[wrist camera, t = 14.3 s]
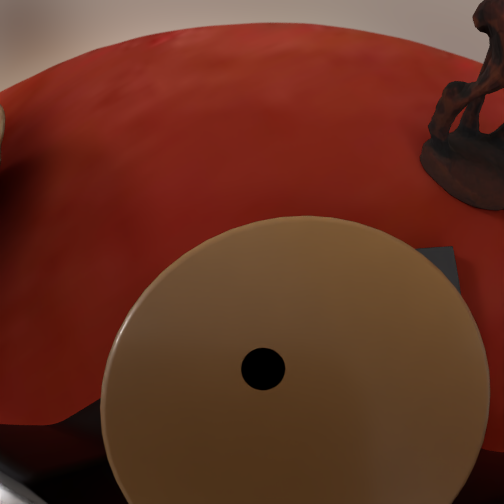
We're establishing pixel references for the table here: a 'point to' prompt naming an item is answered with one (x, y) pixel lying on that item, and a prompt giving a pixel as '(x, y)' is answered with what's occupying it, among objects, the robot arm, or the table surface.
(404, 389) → the tan wooden tall post
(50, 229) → the table surface
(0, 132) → the bowl
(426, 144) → the statue
